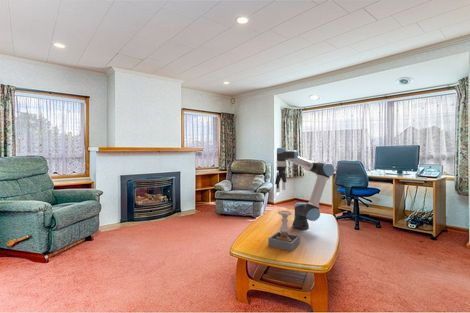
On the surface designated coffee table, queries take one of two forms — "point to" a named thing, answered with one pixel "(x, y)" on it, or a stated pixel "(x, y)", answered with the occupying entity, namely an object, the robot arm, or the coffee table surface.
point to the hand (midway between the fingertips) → (280, 191)
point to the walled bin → (284, 242)
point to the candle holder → (284, 227)
